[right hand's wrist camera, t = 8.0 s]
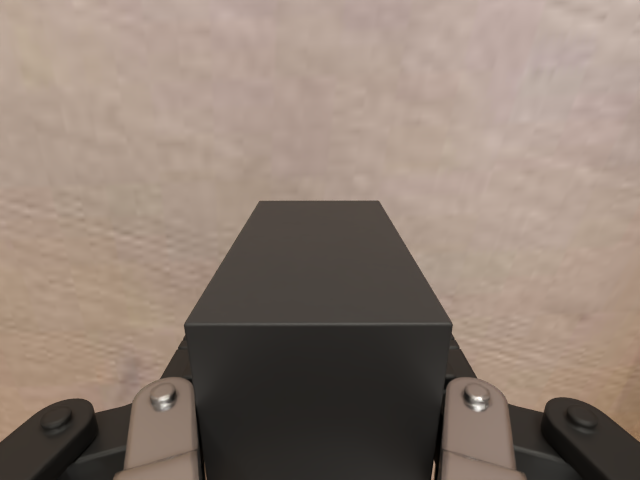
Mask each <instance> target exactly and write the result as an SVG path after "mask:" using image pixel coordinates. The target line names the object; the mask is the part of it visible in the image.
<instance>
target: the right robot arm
mask: <svg viewBox="0 0 640 480" xmlns="http://www.w3.org/2000/svg"><path fill="white" fill-rule="evenodd" d="M434 461H435V470H434V480H640V442H639V441H637V440H636V439H635V438H634V437H633V436H631V435H630V434H629V433H628V432H626V431H625V430H624V429H623V428H622V427H620V426H619V425H618V424H617V423H615V422H614V421H613V420H612V419H611V418H609V417H608V416H607V415H606V414H604V413H603V412H602V411H600V410H599V409H597V408H595V407H593V406H592V405H590V404H587V403H585V402H582V401H579V400H576V399H572V398H565V397H560V398H554V399H551V400H550V401H548V402H547V404H546V406H545V410H544V413H543V412H538V411H534V410H530V409H526V408H522V407H517V406H514V405H510V404H508V403H507V400H506V398H505V396H504V395H503V393H502V392H501V391H500V390H499V389H497V388H496V387H495V386H493V385H492V384H490V383H488V382H486V381H483V380H481V379H477V377H476V375H475V373H474V372H473V370H472V368H471V366H470V365H469V363H468V361H467V359H466V358H465V356H464V354H463V352H462V351H461V349H459V345H458V344H457V342H456V340H454V337H453V335H452V333H451V340H450V347H449V355H448V362H447V369H446V376H445V383H444V390H443V397H442V404H441V411H440V419H439V426H438V433H437V440H436V447H435V454H434ZM0 480H206V471H205V464H204V457H203V450H202V444H201V437H200V430H199V423H198V416H197V410H196V403H195V396H194V389H193V383H192V376H191V369H190V362H189V355H188V349H187V342H186V335H185V337H184V338H183V341H182V342H181V344H180V345H179V347H178V350H176V352H175V354H174V356H173V357H172V359H171V361H170V363H169V364H168V366H167V368H166V369H165V371H164V373H163V375H162V376H161V378H160V379H159V380H157V381H154V382H152V383H150V384H148V385H147V386H145V387H144V388H143V389H141V390H140V391H139V392H138V393H137V395H136V396H135V398H134V400H133V403H131V404H128V405H126V406H122V407H119V408H114V409H110V410H106V411H102V412H97V413H95V412H94V408H93V406H92V404H91V403H90V402H89V401H87V400H84V399H67V400H63V401H60V402H57V403H54V404H52V405H49V406H47V407H45V408H44V409H42V410H40V411H39V412H37V413H36V414H35V415H33V416H32V417H31V418H29V419H28V420H27V421H26V422H25V423H23V424H22V425H21V426H20V427H18V428H17V429H16V430H15V431H14V432H12V433H11V434H10V435H9V436H7V437H6V438H5V439H4V440H3V441H1V442H0Z"/></svg>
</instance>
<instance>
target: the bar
mask: <svg viewBox="0 0 640 480" xmlns="http://www.w3.org/2000/svg"><path fill="white" fill-rule="evenodd" d="M452 326H453V324H452V322H451V320H450V319H449V317H448V315H447V314H446V312H445V310H444V309H443V307H442V305H441V304H440V302H439V300H438V299H437V297H436V295H435V294H434V292H433V290H432V289H431V287H430V285H429V284H428V282H427V280H426V279H425V277H424V275H423V274H422V272H421V270H420V269H419V267H418V265H417V264H416V262H415V260H414V259H413V257H412V255H411V254H410V252H409V250H408V249H407V247H406V245H405V244H404V242H403V240H402V239H401V237H400V235H399V234H398V232H397V230H396V229H395V227H394V225H393V224H392V222H391V220H390V219H389V217H388V215H387V214H386V212H385V210H384V209H383V207H382V205H381V204H380V202H379V201H259V203H258V204H257V206H256V208H255V209H254V211H253V213H252V214H251V216H250V217H249V219H248V221H247V222H246V224H245V226H244V227H243V229H242V231H241V232H240V234H239V235H238V237H237V239H236V240H235V242H234V244H233V245H232V247H231V248H230V250H229V252H228V253H227V255H226V257H225V258H224V260H223V262H222V263H221V265H220V266H219V268H218V270H217V271H216V273H215V275H214V276H213V278H212V279H211V281H210V283H209V284H208V286H207V288H206V289H205V291H204V293H203V294H202V296H201V297H200V299H199V301H198V302H197V304H196V306H195V307H194V309H193V310H192V312H191V314H190V315H189V317H188V319H187V320H186V322H185V324H184V328H185V335H186V342H187V349H188V355H189V362H190V369H191V376H192V383H193V389H194V396H195V403H196V410H197V416H198V423H199V430H200V437H201V444H202V450H203V457H204V464H205V471H206V478H207V480H431V475H432V468H433V461H434V454H435V447H436V440H437V433H438V426H439V419H440V411H441V404H442V397H443V390H444V383H445V376H446V369H447V362H448V355H449V347H450V340H451V333H452Z"/></svg>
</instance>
